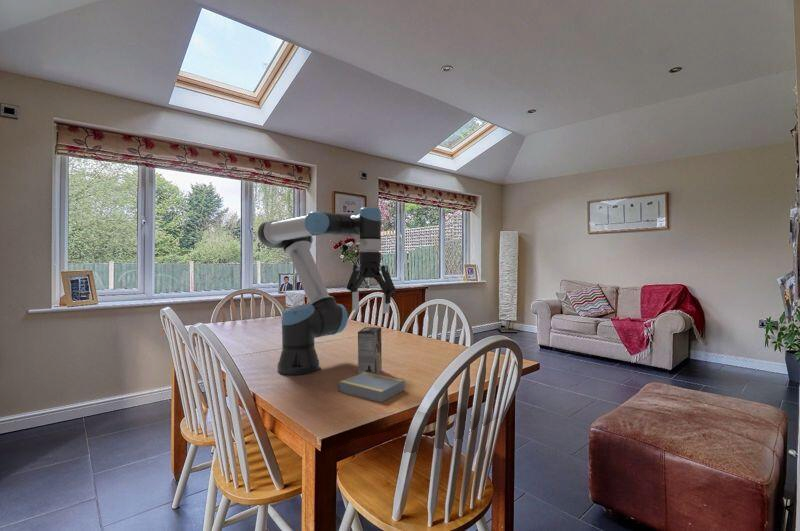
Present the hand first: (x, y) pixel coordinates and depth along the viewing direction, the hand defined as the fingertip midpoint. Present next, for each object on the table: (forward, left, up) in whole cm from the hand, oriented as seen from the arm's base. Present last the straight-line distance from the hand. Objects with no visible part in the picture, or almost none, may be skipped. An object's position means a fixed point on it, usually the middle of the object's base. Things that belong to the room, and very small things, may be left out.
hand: (370, 311), depth 136 cm
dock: (+11, -13, -23) cm, 28 cm away
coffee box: (0, 0, -23) cm, 23 cm away
